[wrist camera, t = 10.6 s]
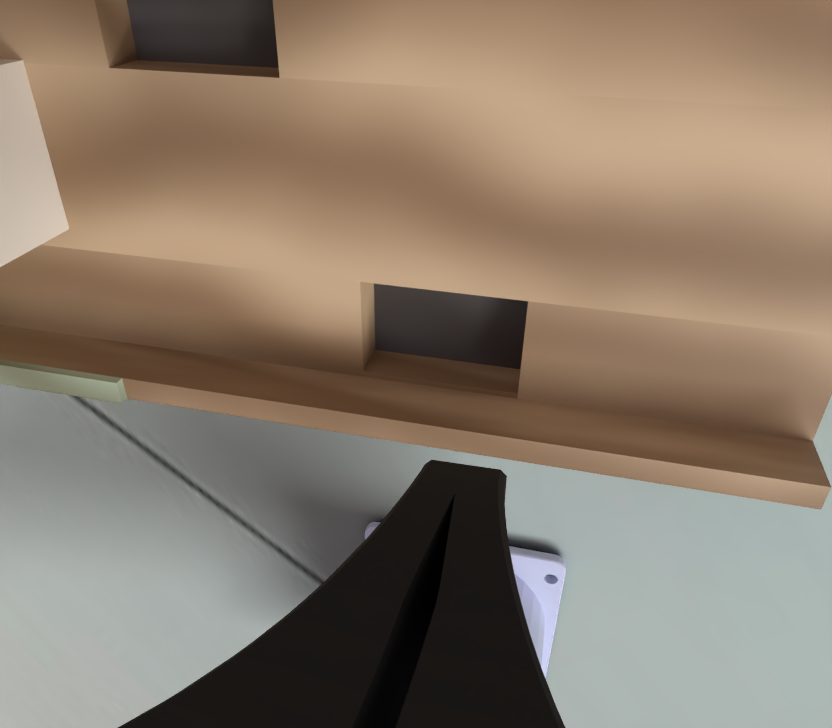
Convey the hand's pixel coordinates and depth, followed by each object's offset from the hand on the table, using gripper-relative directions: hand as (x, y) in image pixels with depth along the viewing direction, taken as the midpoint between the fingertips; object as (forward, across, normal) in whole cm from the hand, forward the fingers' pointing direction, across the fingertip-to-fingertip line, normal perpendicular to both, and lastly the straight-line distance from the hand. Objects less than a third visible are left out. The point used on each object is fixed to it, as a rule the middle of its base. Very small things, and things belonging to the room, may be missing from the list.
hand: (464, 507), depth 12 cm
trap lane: (+10, +6, -3) cm, 12 cm away
